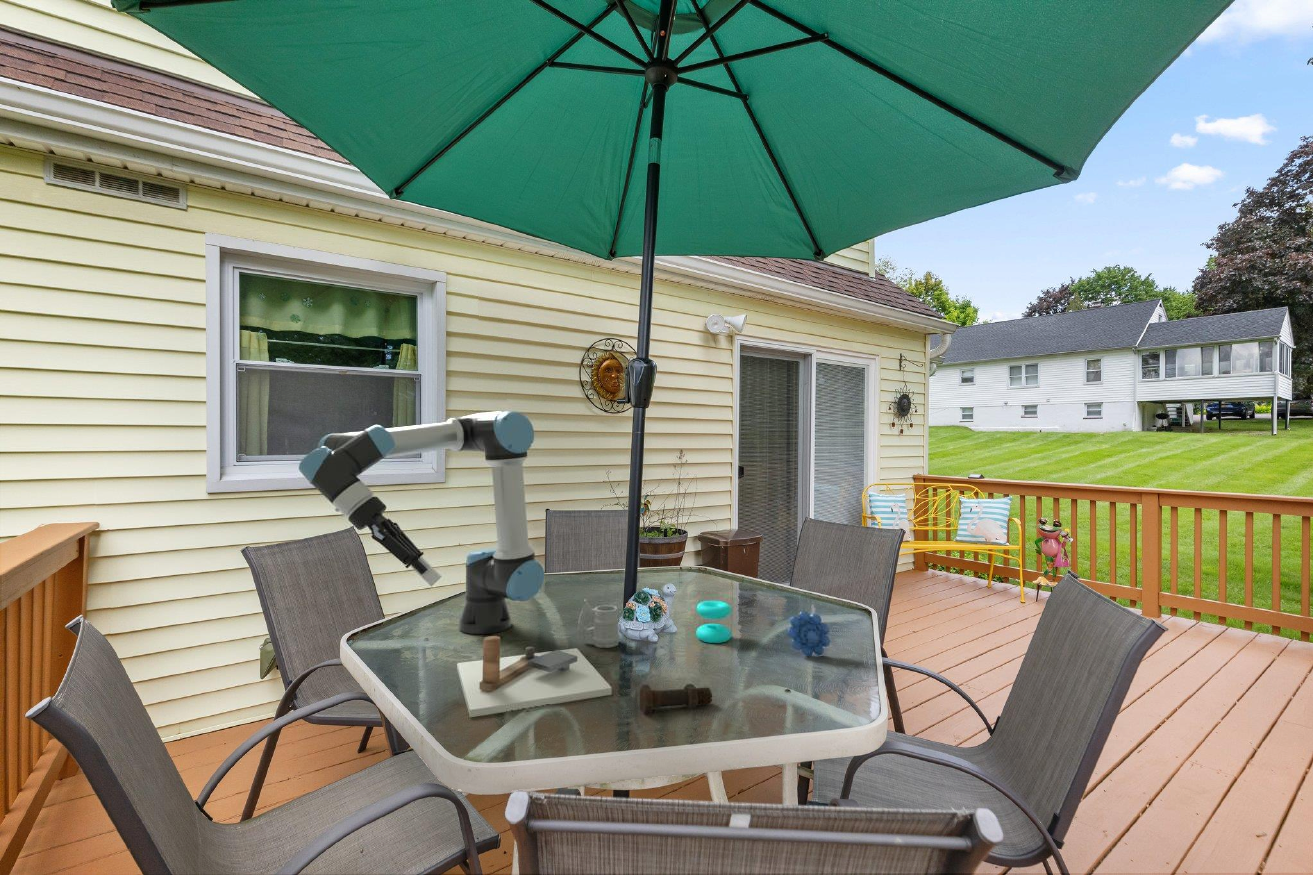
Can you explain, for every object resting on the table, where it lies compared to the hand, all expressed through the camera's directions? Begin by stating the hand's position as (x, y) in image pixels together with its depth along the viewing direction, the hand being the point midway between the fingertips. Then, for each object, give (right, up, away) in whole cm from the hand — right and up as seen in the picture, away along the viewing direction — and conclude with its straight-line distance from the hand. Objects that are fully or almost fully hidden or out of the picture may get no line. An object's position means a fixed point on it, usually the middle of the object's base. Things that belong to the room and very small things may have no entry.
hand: (436, 581), depth 134 cm
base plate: (+20, -24, +4) cm, 32 cm away
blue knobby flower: (+90, -26, +22) cm, 96 cm away
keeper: (+25, -24, +5) cm, 35 cm away
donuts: (+66, -26, +37) cm, 80 cm away
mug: (+34, -25, +31) cm, 52 cm away
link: (+16, -22, +3) cm, 28 cm away
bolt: (+54, -25, -9) cm, 60 cm away
